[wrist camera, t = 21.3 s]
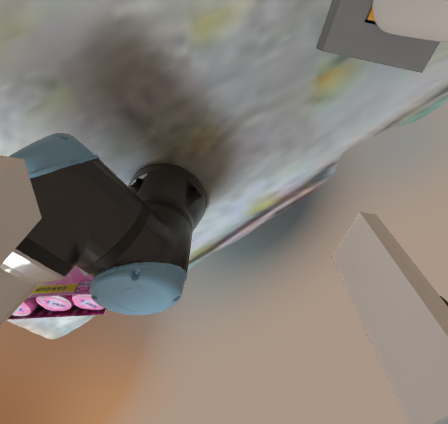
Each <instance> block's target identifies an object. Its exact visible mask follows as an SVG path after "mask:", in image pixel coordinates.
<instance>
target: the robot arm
mask: <svg viewBox="0 0 448 424" xmlns="http://www.w3.org/2000/svg"><path fill="white" fill-rule="evenodd" d="M205 206H206V194H205V191H204V188H203V186H202V185H201V183H200V182H199V180H198V179H197V178H196V177H195V176H194V175H193V174H191V173H190V172H188V171H187V170H185V169H183V168H180V167H178V166H174V165H170V164H155V165H150V166H147V167H145V168H143V169H141V170H140V171H138V172H137V173H136V174H135V175H134V177H133V178H132V180H131V182H130V184H129V186H127V185H125V184H124V183H123V182H122V181H121V180H120V179H119V178H118V177H117V176H116V175H115V174H114V173H113V172H112V171H111V170H110V169H109V168H108V167H107V166H106V165H105V164H104V163H103V162H102V161H101V160H100V159H99V157H98V156H97V155H94V154H93V153H92V152H91V151H90V150H88V149H87V148H86V147H85V146H84V145H83V144H81V143H80V142H79V141H78V140H77V139H76V138H74V137H73V136H71V135H68V134H64V133H56V134H52V135H49V136H47V137H45V138H42V139H40V140H38V141H36V142H34V143H32V144H30V145H28V146H26V147H25V148H23V149H21V150H19V151H17V152H16V153H14V154H12V155H10V156H9V157H7V156H0V327H1V326H2V325H3V324H4V322H5V321H6V320H7V319H8V318H9V317H10V316H11V315H12V314H13V313H14V312H15V311H16V309H17V308H18V307H19V306H20V305H21V304H22V303H23V302H24V301H25V300H26V299H27V298H28V296H29V295H30V294H31V293H32V292H33V291H34V290H35V289H36V288H37V287H38V286H39V285H40V284H42V283H45V282H50V281H55V280H61V279H63V278H64V277H66V275H67V274H68V273H69V272H70V271H71V270H72V269H73V268H74V266H77V267H79V268H80V269H82V270H83V271H85V272H86V273H88V274H89V275H91V276H92V277H93V278H92V280H91V282H90V289H89V292H90V295H91V298H92V299H93V301H94V302H96V303H97V304H98V305H99V306H101V307H103V308H105V309H107V310H110V311H113V312H117V313H121V314H128V315H148V314H154V313H158V312H161V311H164V310H166V309H169V308H170V307H172V306H173V305H174V304H175V303H177V301H178V300H179V299H180V297H181V295H182V291H183V287H184V283H185V281H186V278H187V269H188V261H189V254H190V246H191V239H192V232H193V231H194V229H195V228H196V226H197V225H198V223H199V222H200V220H201V219H202V217H203V215H204V212H205ZM331 257H332V259H333V261H334V264H335V266H336V268H337V270H338V272H339V274H340V277H341V279H342V281H343V283H344V285H345V288H346V290H347V292H348V294H349V296H350V298H351V301H352V303H353V305H354V307H355V309H356V312H357V314H358V316H359V318H360V320H361V322H362V325H363V327H364V329H365V331H366V333H367V336H368V338H369V340H370V342H371V344H372V346H373V349H374V351H375V353H376V355H377V357H378V360H379V362H380V364H381V366H382V368H383V371H384V373H385V375H386V377H387V379H388V381H389V384H390V386H391V388H392V390H393V392H394V395H395V397H396V399H397V401H398V403H399V405H400V407H401V410H402V412H403V414H404V416H405V419H406V420H407V423H408V424H448V302H447V301H446V300H445V299H444V298H442V297H441V296H439V295H438V293H437V292H436V291H435V289H434V288H433V287H432V286H431V284H430V283H429V282H428V281H427V279H426V278H425V277H424V275H423V274H422V273H421V271H420V270H419V269H418V268H417V266H416V265H415V264H414V263H413V261H412V260H411V259H410V257H409V256H408V255H407V254H406V252H405V251H404V250H403V248H402V247H401V246H400V244H399V243H398V242H397V241H396V239H395V238H394V237H393V235H392V234H391V233H390V232H389V230H388V229H387V228H386V226H385V225H384V224H383V223H382V221H381V220H380V219H379V217H378V216H377V215H375V214H369V213H363V212H360V213H359V214H358V216H357V217H356V219H355V220H354V222H353V223H352V225H351V227H350V228H349V230H348V231H347V233H346V234H345V236H344V237H343V239H342V240H341V242H340V244H339V245H338V247H337V248H336V250H335V251H334V253H333V254H332V256H331Z"/></svg>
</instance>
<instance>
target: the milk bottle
mask: <svg viewBox="0 0 448 424" xmlns="http://www.w3.org/2000/svg"><path fill="white" fill-rule="evenodd" d="M372 11H373V17H374V20H375V22H376V24H377V25H378V27H379V28H380V29H381V30H383V31H384V32H387V33H390V34H394V35H400V36H406V37H412V38H418V39H425V40H432V41H440V42H448V0H373V3H372Z"/></svg>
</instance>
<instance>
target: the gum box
mask: <svg viewBox="0 0 448 424" xmlns="http://www.w3.org/2000/svg"><path fill="white" fill-rule="evenodd" d="M92 278H93V277H92V276H91V275H89V274H88V273H86V272H85V271H83V270H82V269H80V268H79V267H77V266H74V268H73V269H72V270H71V271H70V272H69V273H68V274H67V275H66V277H64V278H63V279H61V280H55V281H50V282H45V283H42V284H40V285H39V286H38V287H37V288H36V289H35V290H34V291H33V292H32V293H31V294H30V295H29V296H28V298H27V299H26V300H25V301H24V302H23V303H22V304H21V305H20V306H19V307H18V308H17V309H16V311H15V312H14V313H13V314H12V315H11V316H10V317H9V318H8V319H29V318H44V317H66V316H90V315H104V314H105V313H106V311H107V309H105V308H103V307H101V306H99V305H98V304H97V303H96V302H94V301H93V299H92V298H91V295H90V292H89V289H90V282H91V280H92Z"/></svg>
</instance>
